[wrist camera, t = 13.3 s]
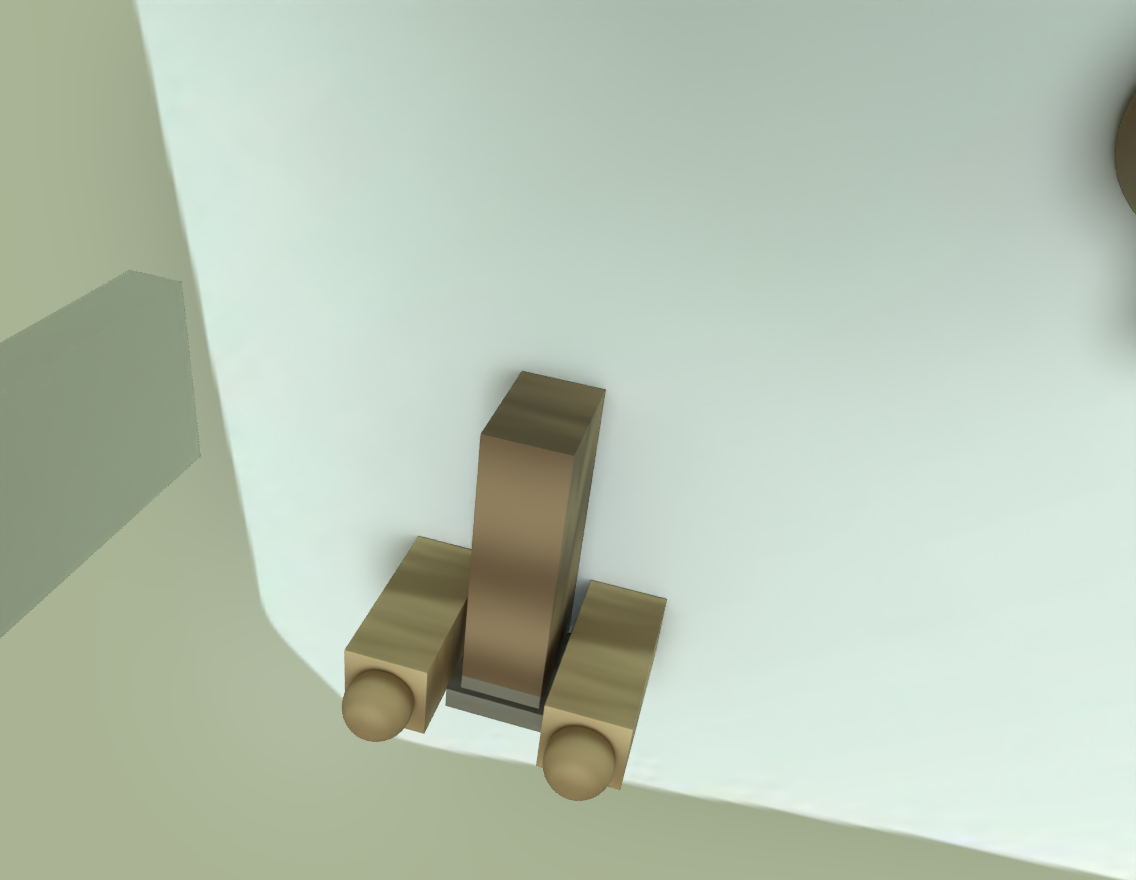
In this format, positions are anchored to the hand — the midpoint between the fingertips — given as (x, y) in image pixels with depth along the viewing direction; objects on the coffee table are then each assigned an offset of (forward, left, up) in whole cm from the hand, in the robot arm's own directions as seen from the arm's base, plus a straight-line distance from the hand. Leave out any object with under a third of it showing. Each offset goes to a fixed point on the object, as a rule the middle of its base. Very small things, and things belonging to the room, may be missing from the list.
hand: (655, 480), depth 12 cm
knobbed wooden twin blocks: (+28, -7, -29) cm, 41 cm away
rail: (+22, -7, -29) cm, 37 cm away
